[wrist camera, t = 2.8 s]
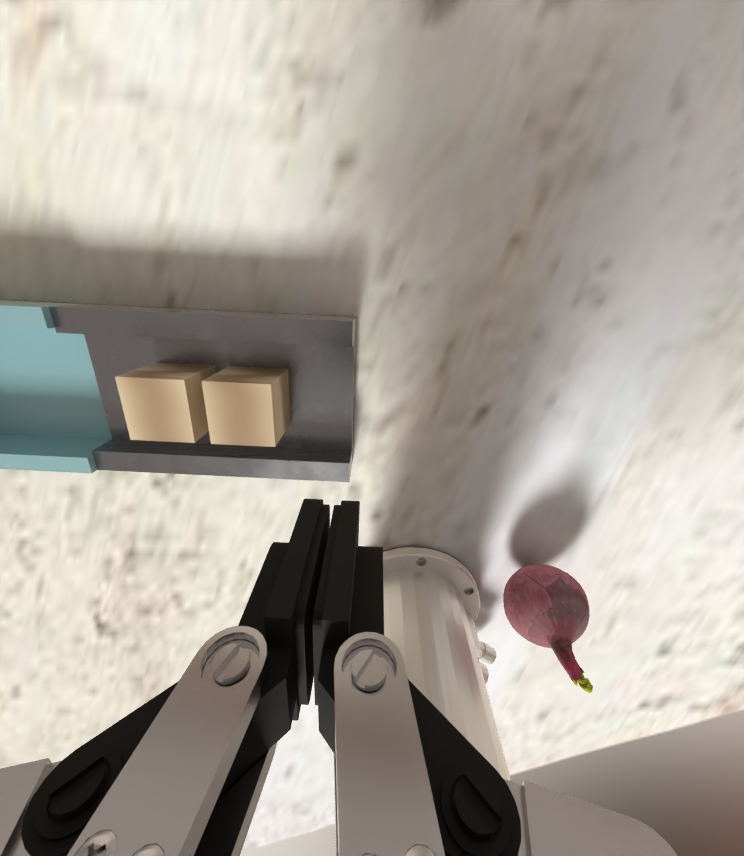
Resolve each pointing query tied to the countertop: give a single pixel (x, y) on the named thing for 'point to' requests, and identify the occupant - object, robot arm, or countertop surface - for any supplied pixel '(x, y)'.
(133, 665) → the countertop surface
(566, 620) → the vegetable
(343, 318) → the rail
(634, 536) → the countertop surface
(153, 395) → the chip
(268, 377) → the chip
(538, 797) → the robot arm
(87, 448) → the tray
